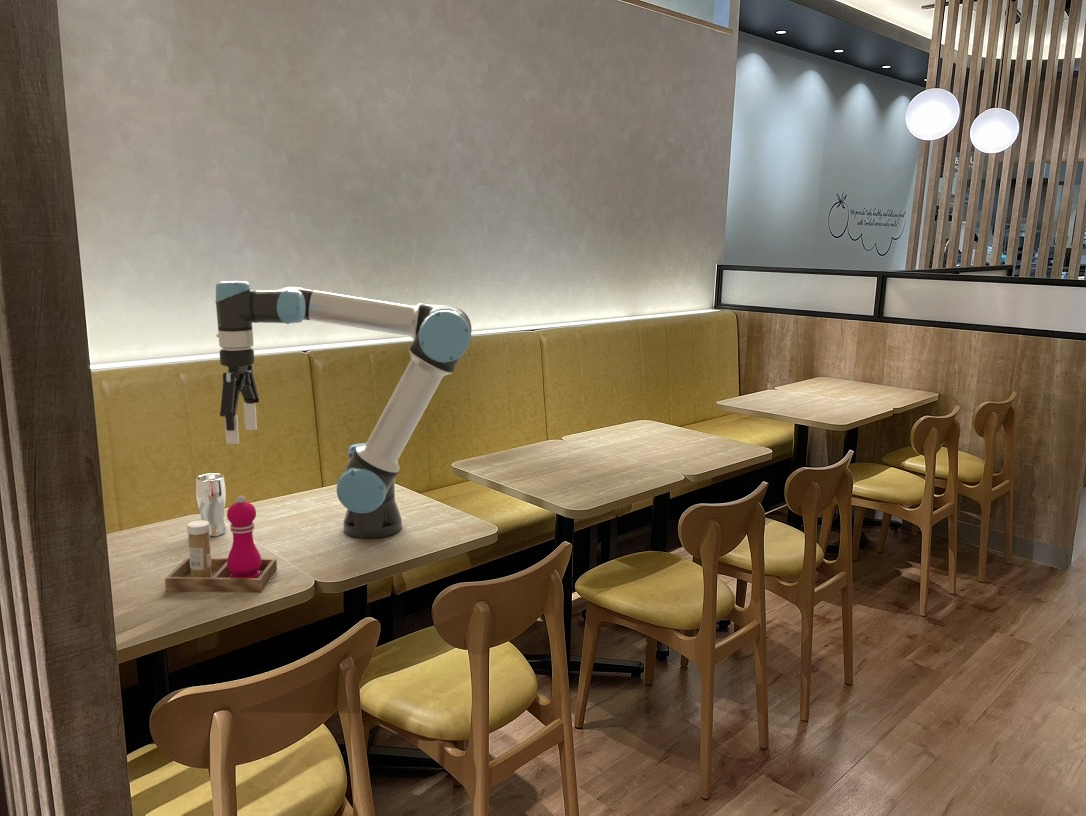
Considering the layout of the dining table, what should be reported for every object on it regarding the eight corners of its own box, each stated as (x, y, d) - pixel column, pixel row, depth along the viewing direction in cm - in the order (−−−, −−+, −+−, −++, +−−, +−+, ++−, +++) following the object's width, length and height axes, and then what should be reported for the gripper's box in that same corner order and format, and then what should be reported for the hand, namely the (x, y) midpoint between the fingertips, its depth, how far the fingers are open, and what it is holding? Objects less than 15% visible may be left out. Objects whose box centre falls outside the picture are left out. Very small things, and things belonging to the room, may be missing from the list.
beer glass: (217, 538, 205) (214, 482, 202) (193, 536, 206) (189, 479, 203) (233, 529, 212) (230, 474, 208) (209, 526, 213) (205, 472, 210)
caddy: (277, 570, 187) (276, 558, 186) (260, 592, 175) (260, 579, 175) (187, 569, 186) (186, 557, 186) (165, 591, 175) (164, 578, 174)
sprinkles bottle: (216, 578, 182) (213, 522, 179) (199, 586, 178) (196, 528, 175) (203, 574, 184) (199, 518, 181) (185, 581, 180) (182, 524, 177)
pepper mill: (222, 580, 181) (217, 495, 177) (253, 571, 186) (249, 488, 182) (236, 591, 176) (231, 503, 172) (268, 581, 181) (263, 496, 177)
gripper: (237, 340, 201) (243, 423, 206) (200, 355, 177) (207, 449, 181) (268, 341, 202) (273, 424, 206) (235, 356, 177) (241, 449, 182)
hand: (242, 436), depth 194 cm, fingers open, 13 cm apart
